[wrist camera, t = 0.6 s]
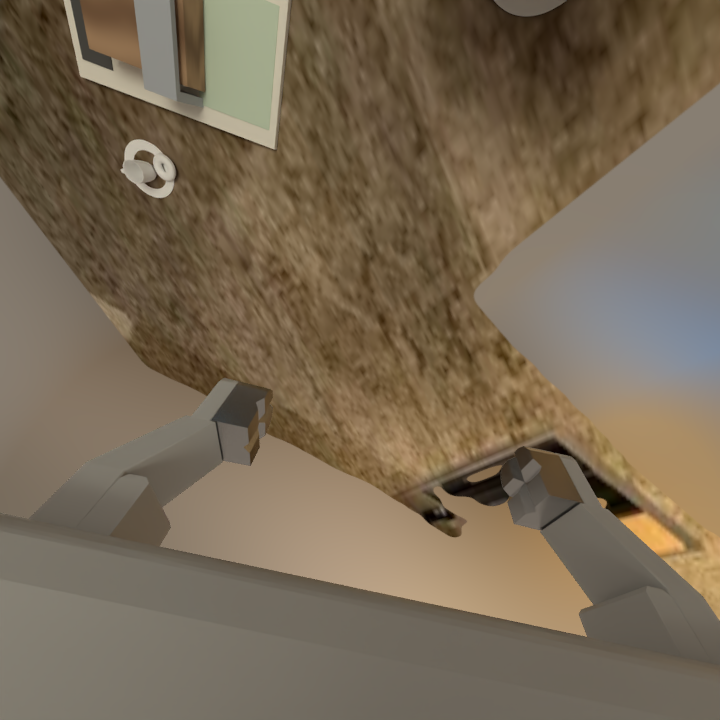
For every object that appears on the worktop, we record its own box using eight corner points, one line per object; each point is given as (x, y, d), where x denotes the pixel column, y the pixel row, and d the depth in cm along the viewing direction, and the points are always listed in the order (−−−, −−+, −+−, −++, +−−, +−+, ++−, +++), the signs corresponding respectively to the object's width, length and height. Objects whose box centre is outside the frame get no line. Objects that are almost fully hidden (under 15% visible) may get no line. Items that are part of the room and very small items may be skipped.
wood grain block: (98, -51, 32) (65, -74, 29) (202, -8, 33) (181, -25, 30) (115, 57, 38) (89, 48, 34) (205, 92, 39) (187, 86, 35)
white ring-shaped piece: (180, 155, 45) (163, 155, 42) (180, 207, 50) (165, 211, 46) (124, 130, 44) (101, 128, 41) (129, 185, 48) (110, 187, 45)
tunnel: (165, -46, 32) (123, -81, 27) (200, -31, 33) (165, -63, 28) (175, 96, 40) (144, 88, 35) (203, 107, 40) (176, 101, 35)
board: (45, -119, 31) (34, -127, 30) (292, -12, 33) (289, -17, 32) (86, 77, 40) (79, 76, 39) (276, 149, 43) (274, 149, 42)
